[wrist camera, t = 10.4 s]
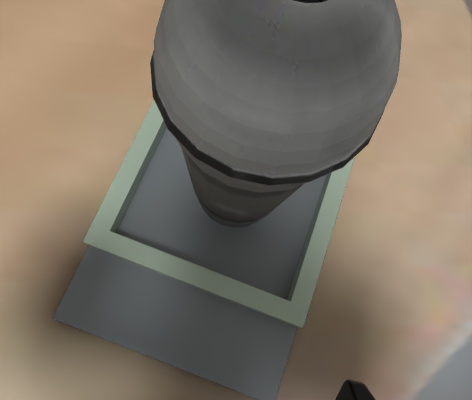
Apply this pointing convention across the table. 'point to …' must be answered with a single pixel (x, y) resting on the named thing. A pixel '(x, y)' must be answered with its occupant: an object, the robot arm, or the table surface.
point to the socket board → (199, 270)
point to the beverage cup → (271, 93)
